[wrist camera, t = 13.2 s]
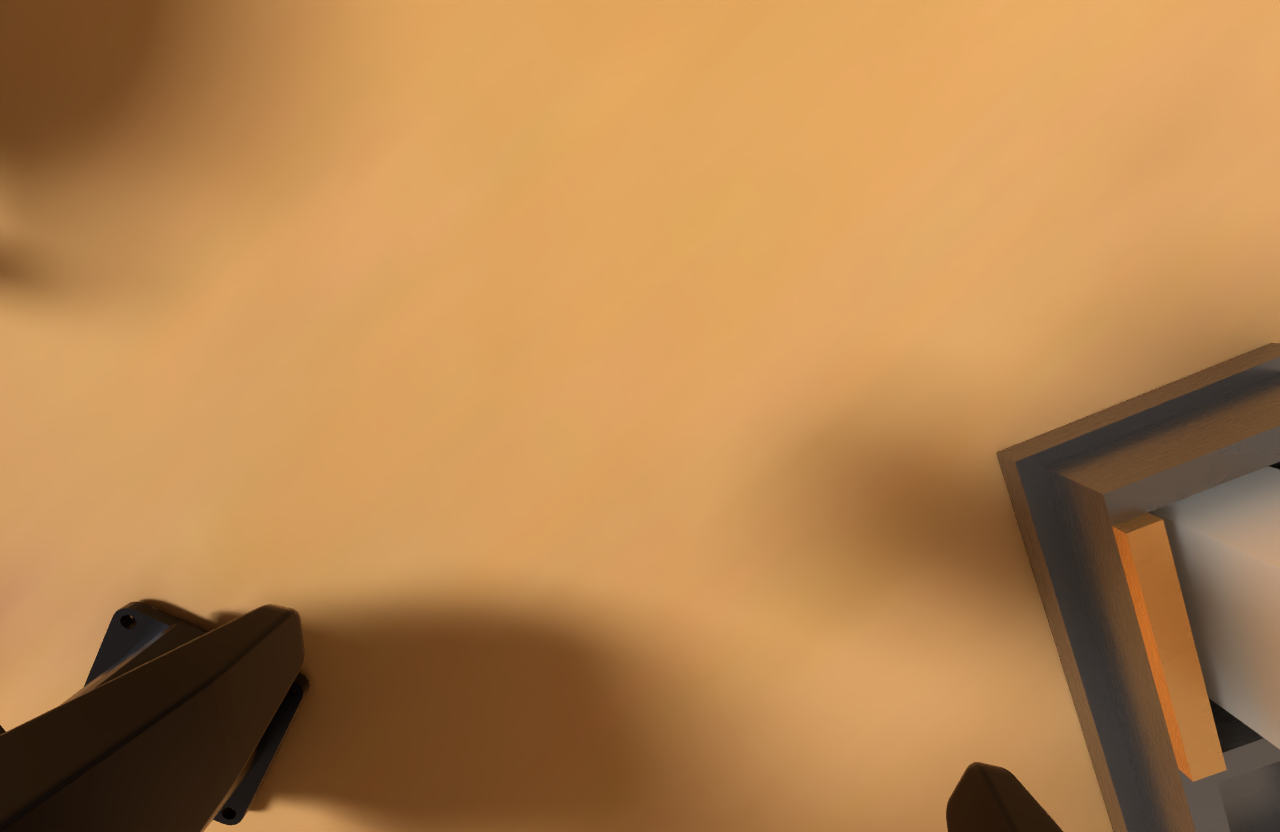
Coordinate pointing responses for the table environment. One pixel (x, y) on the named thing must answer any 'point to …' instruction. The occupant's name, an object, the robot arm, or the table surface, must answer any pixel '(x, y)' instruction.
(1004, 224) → the table surface
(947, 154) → the table surface
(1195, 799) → the rack
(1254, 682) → the white rectangular block
